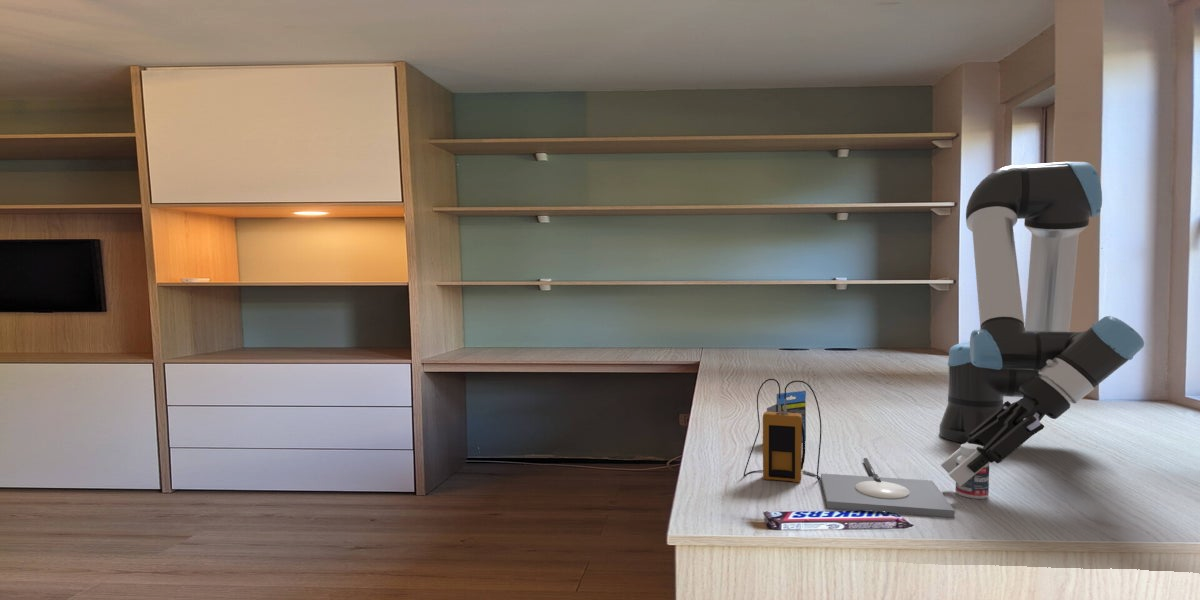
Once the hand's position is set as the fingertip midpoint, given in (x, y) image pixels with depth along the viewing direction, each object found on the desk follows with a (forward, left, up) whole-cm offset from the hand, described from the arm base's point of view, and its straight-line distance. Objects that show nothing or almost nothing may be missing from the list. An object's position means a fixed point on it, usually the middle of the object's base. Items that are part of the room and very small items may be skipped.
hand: (949, 475), depth 123 cm
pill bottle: (0, +4, -4) cm, 5 cm away
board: (-2, -12, -3) cm, 13 cm away
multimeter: (-5, -30, -4) cm, 30 cm away
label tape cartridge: (-31, -28, -4) cm, 42 cm away
